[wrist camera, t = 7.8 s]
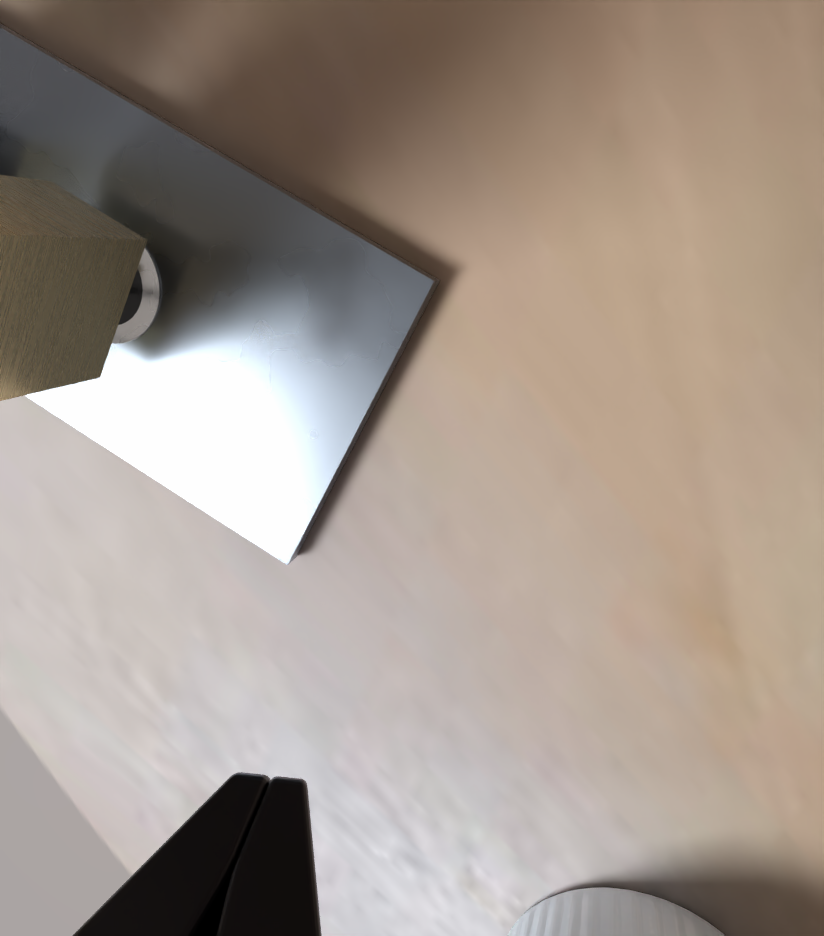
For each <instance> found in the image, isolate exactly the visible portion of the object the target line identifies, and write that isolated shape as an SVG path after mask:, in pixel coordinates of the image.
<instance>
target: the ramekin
mask: <svg viewBox="0 0 824 936" xmlns="http://www.w3.org/2000/svg"><path fill="white" fill-rule="evenodd" d="M507 936H725V935H724V934H723V933H722V932H720V931H719V930H718V929H717V928H715V927H714V926H713V925H711V924H710V923H708V922H707V921H705V920H704V919H702V918H700V917H699V916H697V915H696V914H694V913H692V912H691V911H689V910H687V909H685V908H683V907H681V906H679V905H676V904H674V903H672V902H670V901H667V900H664V899H661V898H658V897H655V896H652V895H649V894H645V893H641V892H637V891H632V890H626V889H618V888H584V889H577V890H572V891H567V892H564V893H561V894H558V895H555V896H553V897H550V898H548V899H545V900H543V901H542V902H540V903H539V904H537V905H535V906H533V907H532V908H530V909H529V910H528V911H527V912H526V913H524V914H523V915H522V916H521V917H520V918H519V919H518V921H517V922H516V923H515V924H514V926H513V927H512V928H511V930H510V932H509V934H508V935H507Z"/></svg>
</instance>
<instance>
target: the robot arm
mask: <svg viewBox="0 0 824 936" xmlns="http://www.w3.org/2000/svg"><path fill="white" fill-rule="evenodd" d="M73 936H321V926H320V915H319V904H318V894H317V883H316V873H315V862H314V852H313V841H312V831H311V820H310V809H309V799H308V789H307V783H306V781H305V780H303V779H297V778H288V777H279V776H278V777H274V778H272V779H271V780H270V778H269V777H268V776H266V775H261V774H251V773H242V772H241V773H236V774H234V775H232V776H231V777H230V778H229V779H228V780H227V781H226V782H225V783H224V784H223V785H222V786H221V787H220V788H219V789H218V790H217V791H216V792H215V793H214V794H213V795H212V796H211V797H210V798H209V799H208V800H207V801H206V802H205V803H204V804H203V805H202V806H201V807H200V808H199V809H198V810H197V811H196V812H195V813H194V814H193V815H192V816H191V817H190V818H189V819H188V820H187V821H186V822H185V823H184V824H183V825H182V826H181V827H180V828H179V829H178V830H177V831H176V832H175V833H174V834H173V835H172V836H171V837H170V838H169V839H168V840H167V841H166V842H165V843H164V844H163V845H162V846H161V847H160V848H159V849H158V850H157V851H156V852H155V853H154V854H153V855H152V856H151V857H150V858H149V859H148V860H147V861H146V862H145V863H144V864H143V865H142V866H141V867H140V868H139V869H138V870H137V871H136V872H135V873H134V874H133V875H132V876H131V877H130V878H129V879H128V880H127V881H126V882H125V883H124V884H123V885H122V887H120V888H119V889H118V890H117V891H116V893H115V894H113V895H112V896H111V897H110V898H109V900H107V901H106V903H104V904H103V906H102V907H101V908H100V909H99V910H98V911H97V912H96V913H95V914H94V915H93V916H92V917H91V918H90V919H89V920H88V921H87V922H86V923H85V924H84V925H83V926H82V927H81V928H80V929H79V930H78V931H77V932H76V933H75V934H74V935H73Z"/></svg>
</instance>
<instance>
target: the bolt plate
mask: <svg viewBox="0 0 824 936" xmlns="http://www.w3.org/2000/svg"><path fill="white" fill-rule="evenodd" d="M0 175H6V176H14V177H21V178H29V179H36V180H44V181H51V182H53V183H54V184H56V185H58V186H59V187H61V188H63V189H64V190H66V191H68V192H69V193H71V194H72V195H74V196H76V197H77V198H79V199H81V200H82V201H84V202H86V203H87V204H89V205H91V206H92V207H94V208H96V209H97V210H99V211H101V212H102V213H104V214H106V215H107V216H109V217H110V218H112V219H114V220H115V221H117V222H119V223H120V224H122V225H124V226H125V227H127V228H129V229H130V230H132V231H134V232H135V233H137V234H139V235H140V236H142V237H143V238H145V239H147V243H146V245H145V248H144V251H143V254H142V257H141V260H140V263H139V266H138V269H137V272H136V275H135V277H134V280H133V283H132V286H131V289H130V292H129V295H128V298H127V301H126V304H125V306H124V309H123V312H122V315H121V318H120V321H119V324H118V327H117V330H116V333H115V336H114V338H113V341H112V344H111V347H110V350H109V353H108V356H107V359H106V362H105V365H104V367H103V370H102V373H101V376H100V378H97V379H92V380H88V381H84V382H79V383H75V384H71V385H66V386H62V387H58V388H53V389H49V390H45V391H41V392H36V393H32V394H28V395H25V396H26V397H28V398H29V399H31V400H32V401H34V402H35V403H37V404H39V405H40V406H42V407H43V408H45V409H46V410H48V411H49V412H51V413H52V414H54V415H56V416H57V417H59V418H60V419H62V420H63V421H65V422H66V423H68V424H70V425H71V426H73V427H74V428H76V429H77V430H79V431H80V432H82V433H84V434H85V435H87V436H88V437H90V438H91V439H93V440H94V441H96V442H97V443H99V444H101V445H102V446H104V447H105V448H107V449H108V450H110V451H111V452H113V453H115V454H116V455H118V456H119V457H121V458H122V459H124V460H125V461H127V462H129V463H130V464H132V465H133V466H135V467H136V468H138V469H139V470H141V471H142V472H144V473H146V474H147V475H149V476H150V477H152V478H153V479H155V480H156V481H158V482H160V483H161V484H163V485H164V486H166V487H167V488H169V489H170V490H172V491H174V492H175V493H177V494H178V495H180V496H181V497H183V498H184V499H186V500H187V501H189V502H191V503H192V504H194V505H195V506H197V507H198V508H200V509H201V510H203V511H205V512H206V513H208V514H209V515H211V516H212V517H214V518H215V519H217V520H219V521H220V522H222V523H223V524H225V525H226V526H228V527H229V528H231V529H232V530H234V531H236V532H237V533H239V534H240V535H242V536H243V537H245V538H246V539H248V540H250V541H251V542H253V543H254V544H256V545H257V546H259V547H260V548H262V549H264V550H265V551H267V552H268V553H270V554H271V555H273V556H274V557H276V558H277V559H279V560H281V561H282V562H284V563H285V564H287V565H288V564H289V563H290V562H291V561H292V560H293V559H294V558H296V556H297V554H298V553H299V551H300V549H301V547H302V545H303V543H304V541H305V539H306V537H307V535H308V533H309V531H310V529H311V528H312V526H313V524H314V522H315V520H316V518H317V516H318V514H319V512H320V510H321V508H322V506H323V504H324V503H325V501H326V499H327V497H328V495H329V493H330V491H331V489H332V487H333V485H334V483H335V481H336V479H337V477H338V476H339V474H340V472H341V470H342V468H343V466H344V464H345V462H346V460H347V458H348V456H349V454H350V452H351V451H352V449H353V447H354V445H355V443H356V441H357V439H358V437H359V435H360V433H361V431H362V429H363V427H364V426H365V424H366V422H367V420H368V418H369V416H370V414H371V412H372V410H373V408H374V406H375V404H376V402H377V401H378V399H379V397H380V395H381V393H382V391H383V389H384V387H385V385H386V383H387V381H388V379H389V377H390V376H391V374H392V372H393V370H394V368H395V366H396V364H397V362H398V360H399V358H400V356H401V354H402V352H403V350H404V349H405V347H406V345H407V343H408V341H409V339H410V337H411V335H412V333H413V331H414V329H415V327H416V325H417V324H418V322H419V320H420V318H421V316H422V314H423V312H424V310H425V308H426V306H427V304H428V302H429V300H430V299H431V297H432V295H433V293H434V291H435V289H436V287H437V285H438V283H439V281H440V280H438V279H437V278H435V277H433V276H432V275H430V274H428V273H426V272H425V271H423V270H421V269H420V268H418V267H416V266H414V265H413V264H411V263H409V262H408V261H406V260H404V259H402V258H401V257H399V256H397V255H396V254H394V253H392V252H390V251H389V250H387V249H385V248H384V247H382V246H380V245H379V244H377V243H375V242H373V241H372V240H370V239H368V238H367V237H365V236H363V235H361V234H360V233H358V232H356V231H355V230H353V229H351V228H349V227H348V226H346V225H344V224H343V223H341V222H339V221H337V220H336V219H334V218H332V217H331V216H329V215H327V214H325V213H324V212H322V211H320V210H319V209H317V208H315V207H313V206H312V205H310V204H308V203H307V202H305V201H303V200H301V199H300V198H298V197H296V196H295V195H293V194H291V193H290V192H288V191H286V190H284V189H283V188H281V187H279V186H278V185H276V184H274V183H272V182H271V181H269V180H267V179H266V178H264V177H262V176H260V175H259V174H257V173H255V172H254V171H252V170H250V169H248V168H247V167H245V166H243V165H242V164H240V163H238V162H236V161H235V160H233V159H231V158H230V157H228V156H226V155H224V154H223V153H221V152H219V151H218V150H216V149H214V148H213V147H211V146H209V145H207V144H206V143H204V142H202V141H201V140H199V139H197V138H195V137H194V136H192V135H190V134H189V133H187V132H185V131H183V130H182V129H180V128H178V127H177V126H175V125H173V124H171V123H170V122H168V121H166V120H165V119H163V118H161V117H159V116H158V115H156V114H154V113H153V112H151V111H149V110H147V109H146V108H144V107H142V106H141V105H139V104H137V103H136V102H134V101H132V100H130V99H129V98H127V97H125V96H124V95H122V94H120V93H118V92H117V91H115V90H113V89H112V88H110V87H108V86H106V85H105V84H103V83H101V82H100V81H98V80H96V79H94V78H93V77H91V76H89V75H88V74H86V73H84V72H82V71H81V70H79V69H77V68H76V67H74V66H72V65H70V64H69V63H67V62H65V61H64V60H62V59H60V58H59V57H57V56H55V55H53V54H52V53H50V52H48V51H47V50H45V49H43V48H41V47H40V46H38V45H36V44H35V43H33V42H31V41H29V40H28V39H26V38H24V37H23V36H21V35H19V34H17V33H16V32H14V31H12V30H11V29H9V28H7V27H5V26H4V25H2V24H0Z"/></svg>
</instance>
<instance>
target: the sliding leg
mask: <svg viewBox="0 0 824 936" xmlns="http://www.w3.org/2000/svg"><path fill="white" fill-rule="evenodd" d="M146 243H147V239H145V238H143V237H142V236H140V235H139V234H137V233H135V232H134V231H132V230H130V229H129V228H127V227H125V226H124V225H122V224H120V223H119V222H117V221H115V220H114V219H112V218H110V217H109V216H107V215H106V214H104V213H102V212H101V211H99V210H97V209H96V208H94V207H92V206H91V205H89V204H87V203H86V202H84V201H82V200H81V199H79V198H77V197H76V196H74V195H72V194H71V193H69V192H68V191H66V190H64V189H63V188H61V187H59V186H58V185H56V184H54V183H53V182H51V181H44V180H36V179H29V178H21V177H14V176H6V175H0V401H2V400H6V399H10V398H15V397H19V396H23V395H28V394H32V393H36V392H41V391H45V390H49V389H53V388H58V387H62V386H66V385H71V384H75V383H79V382H84V381H88V380H92V379H97V378H100V376H101V373H102V370H103V367H104V365H105V362H106V359H107V356H108V353H109V350H110V347H111V344H112V341H113V338H114V336H115V333H116V330H117V327H118V324H119V321H120V318H121V315H122V312H123V309H124V306H125V304H126V301H127V298H128V295H129V292H130V289H131V286H132V283H133V280H134V277H135V275H136V272H137V269H138V266H139V263H140V260H141V257H142V254H143V251H144V248H145V245H146Z"/></svg>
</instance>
